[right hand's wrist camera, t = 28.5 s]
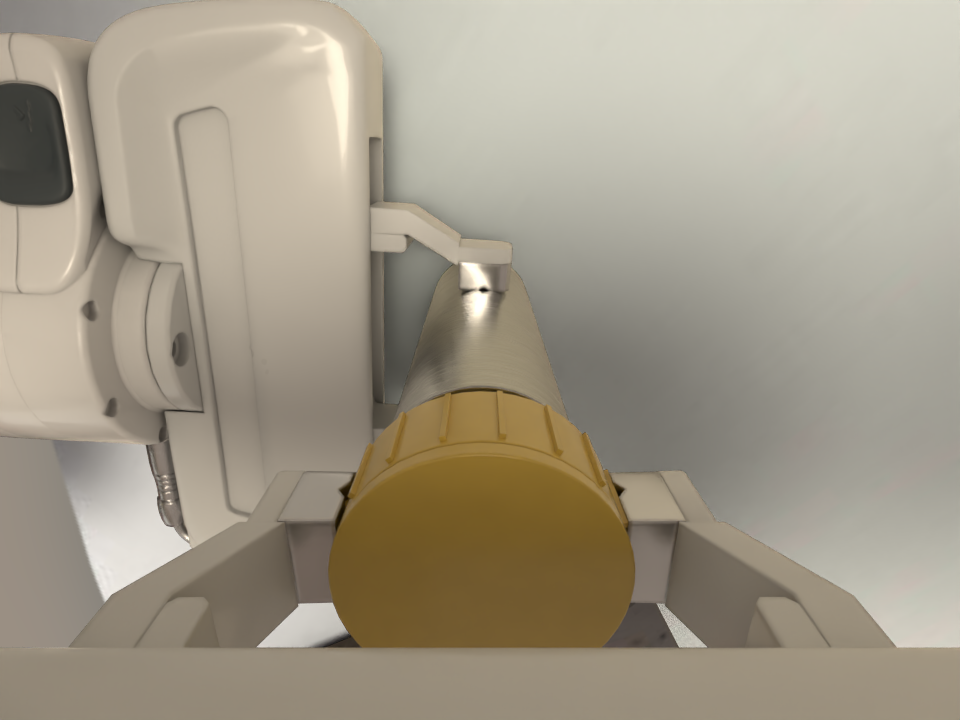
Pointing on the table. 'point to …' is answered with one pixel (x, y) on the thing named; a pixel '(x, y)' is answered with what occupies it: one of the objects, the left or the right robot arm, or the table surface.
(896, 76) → the table surface
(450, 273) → the thermos bottle
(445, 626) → the lid
